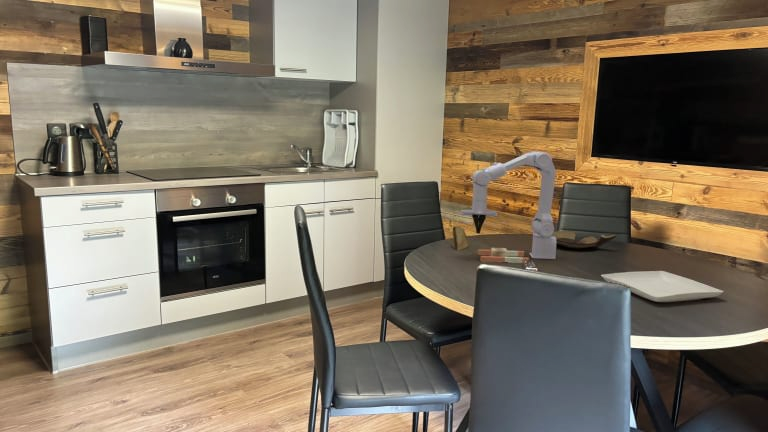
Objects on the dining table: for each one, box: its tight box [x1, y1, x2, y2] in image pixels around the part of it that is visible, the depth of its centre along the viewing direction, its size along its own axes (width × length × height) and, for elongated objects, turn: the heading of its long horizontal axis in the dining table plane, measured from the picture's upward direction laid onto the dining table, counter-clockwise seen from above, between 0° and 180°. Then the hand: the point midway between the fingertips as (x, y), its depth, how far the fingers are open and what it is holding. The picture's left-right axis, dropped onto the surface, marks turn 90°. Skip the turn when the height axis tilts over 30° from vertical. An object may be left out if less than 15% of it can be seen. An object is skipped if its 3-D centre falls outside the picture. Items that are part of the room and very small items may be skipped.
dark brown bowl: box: [551, 230, 617, 249], centre depth 254 cm, size 22×30×8 cm
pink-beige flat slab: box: [477, 249, 530, 264], centre depth 231 cm, size 19×13×2 cm
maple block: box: [490, 247, 508, 257], centre depth 231 cm, size 6×6×4 cm
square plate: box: [600, 270, 725, 303], centre depth 190 cm, size 27×27×4 cm
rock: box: [452, 225, 470, 251], centre depth 249 cm, size 11×9×10 cm
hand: (478, 233), depth 230 cm, fingers closed
